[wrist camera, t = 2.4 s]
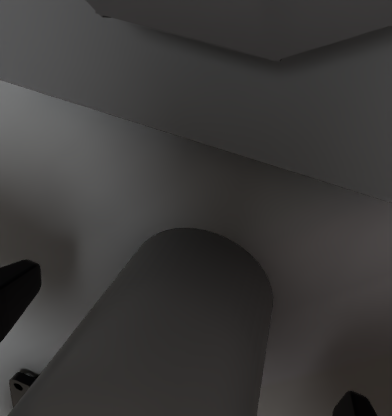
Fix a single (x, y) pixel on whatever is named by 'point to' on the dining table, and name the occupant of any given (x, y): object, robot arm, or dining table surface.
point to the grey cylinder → (166, 337)
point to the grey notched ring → (224, 75)
